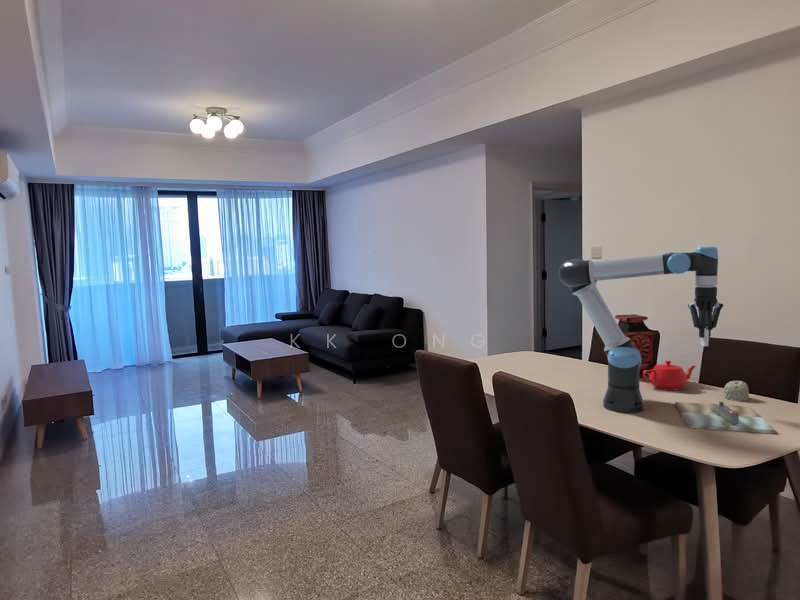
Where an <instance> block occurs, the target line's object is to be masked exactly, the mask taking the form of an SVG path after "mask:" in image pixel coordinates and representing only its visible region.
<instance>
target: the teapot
mask: <svg viewBox="0 0 800 600" xmlns="http://www.w3.org/2000/svg"><path fill="white" fill-rule="evenodd" d="M696 367H697V365H690V366H689V367H688V369H687V371H686V372H685V371H684V369H683V367H682V366H680V365H676V364H672V360H664V363H662V364H656V365H654V366H653V367H652V369H645V370H644V371H643V377H642V378H643V379H644V380H646V381H647V382H649V383H650V384H651V385H652V386H653V387H655V388H656V389H659V388H660V390H664V389H666V390H667V391H677V390H676V389H679V390H681V389H683V388H685V387H686V386H687V384H688V380H690V378H691V376H692V373H693V370H694V369H695V368H696ZM646 373H647V374H648V373H650V374H649V375H648V377H649V378H648V377H646ZM666 390H665V391H666Z"/></svg>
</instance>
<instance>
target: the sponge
mask: <svg viewBox="0 0 800 600" xmlns="http://www.w3.org/2000/svg"><path fill="white" fill-rule="evenodd" d="M749 391H750V390H749V386H748V383H746V382H745V381H743V380H732V381H729V382H727V383H726V384H725V386H724V388H723V392H722V394H723V395H722V396H724V397H725V398H724V397H723V398H724V399H726V398H727V399H726V400H730V399H731V401H734V400H736V401H735V402H744V401H743V400H747V401H748V400H749V395H750V393H749Z"/></svg>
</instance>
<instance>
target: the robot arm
mask: <svg viewBox="0 0 800 600" xmlns="http://www.w3.org/2000/svg"><path fill="white" fill-rule="evenodd" d="M718 267H719V250H718V248H717V247H716V246H702V247H701V246H698V247H696V248H695V251H693V252H665V253H662V254H657V255H649V256H639V257H631V258H629V257H628V258H622V259H614V260H613V259H612V260H611V259H610V260H603V261H601V260H600V261H592V260H591V259H589V260H588V259H587V260H584V259H582V258H572V259H568V260H566V261H564V262H563V263H561V265H560V266H559V268H558V279H559V280H560V282H561V283H562V285H564V286H566V287H567V289H569V291H570V293H571V294H572V295H574V296H577V299H579V302H580V303H581V305H582V307H583V309H584V310H585V312H586V314H587V315H588V318H589V319H590V321H591V322H592V325H593V326H594V327H595V330H596V332H597V333H598V335H599V337H600V338H601V340H602V342H603V344H604V347H603V348H604V349H603V351H604V354H605V355H606V357H607V365H608V366H607V388H606V391H605V395H604V397H603V400H602V406H603V408H605V409H607V410H609V411H613V412H618V413H619V412H620V413H638V412H642V411H644V410H645V403H644V398H643V397H642V393H641V390H640V378H641V377H640V365H641V362H642V358H641V354H640V352H639V350H638V349H637V348H635V346H634V344H633V343H632V341H631V339H630V338H628V337H625V336H624V335H623V333H622V331H621V329H620V328H619V326H618V322H617V321H616V318H615V316H614V315H613V313H612V312H611V310H610V309H609V306H608V305H607V304H606V302H605V300H604V298H603V296H602V295H601V292H600V291H599V290H598V287H597V285H598V281H607V280H617V279H618V280H619V279H629V278H639V277H641V278H642V277H648V276H649V277H650V276H660V275H672V274H674V275H675V274H677V275H682V274H684V273H686V272H694V273H695V275H694V276H695V277H694V279H695V280H694V281H695V283H694V285H695V286H696V287H694V300H693V302H692V303H689V304H687V307H688V309H689V310H690V314H691V319H692V324H693V327H694V328H696V329H698V337H699V338H700V346H702V347H709V342H710V341H709V340H710V339H709V338H711V332H712V330H713V329H716V327H717V324H718V321H719V317H720V314H721V310H722V309H723V307H724V303H721V302H719V301H718V299H717V296H718V287H717V286H718V272H719V271H718V269H719V268H718ZM697 308H698V309H697Z"/></svg>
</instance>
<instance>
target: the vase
mask: <svg viewBox="0 0 800 600" xmlns="http://www.w3.org/2000/svg"><path fill="white" fill-rule="evenodd" d="M614 319H615V320H619V321H618V322H617V324H618V326H619V328H620V329H621V331H622V333H623V335H624V336H625V337H628V338H630V339H631V341H632V343H633V344H634V346H635V348H637V349H638V350H639V352H640V354H641V358H642V362H641V365H640V378H644V377H643V371H645V370H647V367H648V366H650V365H651V364H653V363H654V362H653V359H654V358H653V357H654V355H653V352H654V347H653V345H654V341H653V336H654V335H653V333H654V331H653V330H651V329H650V328H649V327H648V326H647V325H646V324H645V321H648V319H649V318H648V316H645V315H640V314H635V313H633V314H616V315H615V316H614ZM646 377H647V378H648V377H649V373H648V372H647V373H646Z"/></svg>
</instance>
